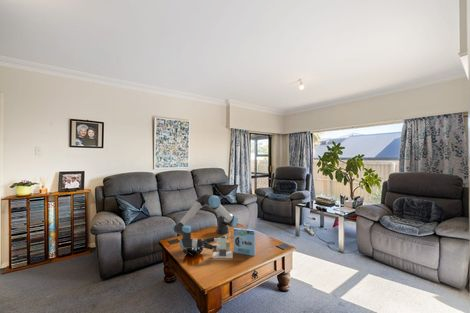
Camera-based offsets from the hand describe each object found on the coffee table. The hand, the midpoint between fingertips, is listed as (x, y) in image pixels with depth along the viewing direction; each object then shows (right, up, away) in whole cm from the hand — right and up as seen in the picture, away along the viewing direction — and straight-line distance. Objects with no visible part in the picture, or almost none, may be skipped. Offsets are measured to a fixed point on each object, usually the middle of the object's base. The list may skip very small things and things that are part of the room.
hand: (220, 243), depth 188 cm
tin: (+2, -11, 0) cm, 11 cm away
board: (+2, -12, 0) cm, 12 cm away
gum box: (+22, -12, +4) cm, 25 cm away
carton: (+2, -12, +13) cm, 18 cm away
